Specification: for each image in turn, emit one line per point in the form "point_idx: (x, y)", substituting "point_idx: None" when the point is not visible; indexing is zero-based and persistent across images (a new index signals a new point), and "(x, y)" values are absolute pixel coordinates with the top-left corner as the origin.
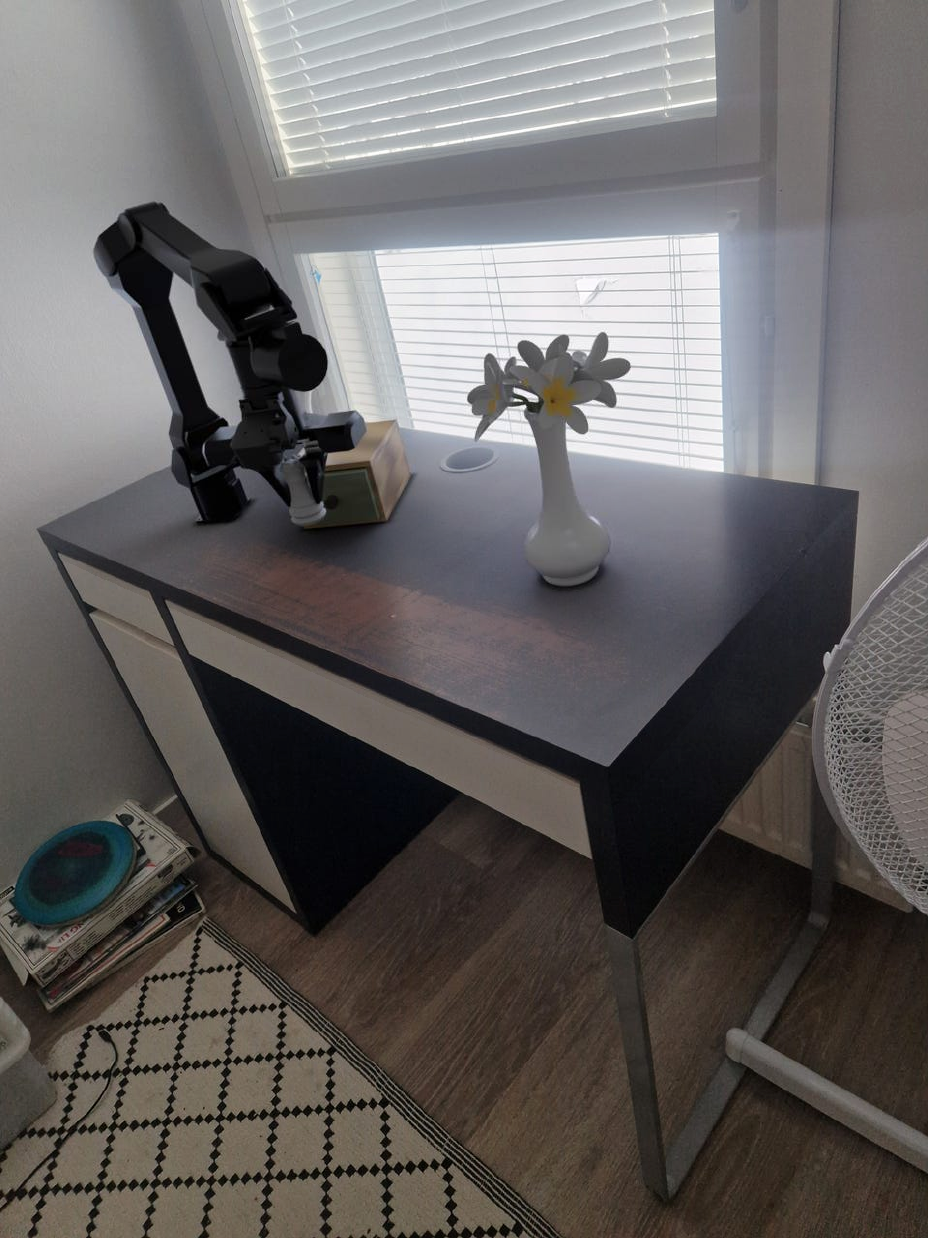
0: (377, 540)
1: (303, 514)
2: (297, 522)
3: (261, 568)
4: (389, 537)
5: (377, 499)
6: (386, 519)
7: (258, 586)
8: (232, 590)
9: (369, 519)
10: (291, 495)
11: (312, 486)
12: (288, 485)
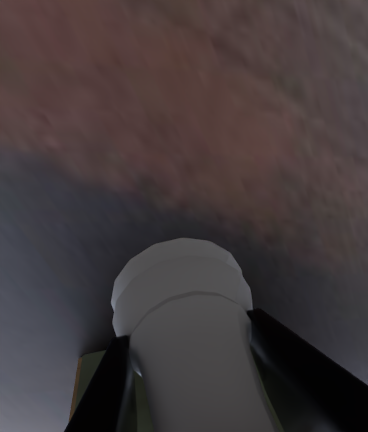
0: (54, 294)
1: (166, 268)
2: (199, 243)
3: (305, 176)
4: (29, 306)
5: None
6: (78, 361)
7: (288, 89)
8: (354, 72)
9: (103, 353)
10: (241, 353)
11: (100, 428)
12: (284, 416)
